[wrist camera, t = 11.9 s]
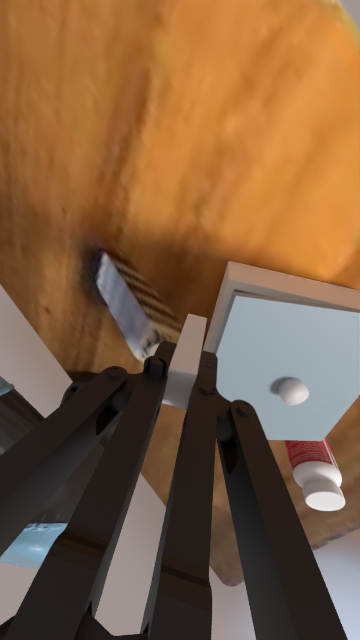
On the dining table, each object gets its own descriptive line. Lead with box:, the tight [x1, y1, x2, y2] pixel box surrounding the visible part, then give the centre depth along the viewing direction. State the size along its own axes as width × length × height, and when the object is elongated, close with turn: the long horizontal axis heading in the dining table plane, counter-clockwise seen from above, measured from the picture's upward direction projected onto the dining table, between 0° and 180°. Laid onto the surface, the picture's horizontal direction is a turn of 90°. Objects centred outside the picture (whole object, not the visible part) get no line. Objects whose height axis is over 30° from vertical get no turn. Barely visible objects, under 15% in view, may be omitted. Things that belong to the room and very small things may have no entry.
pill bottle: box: [285, 438, 345, 511], centre depth 34 cm, size 6×6×11 cm
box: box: [203, 260, 360, 353], centre depth 28 cm, size 16×16×8 cm
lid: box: [213, 291, 360, 441], centre depth 21 cm, size 16×17×2 cm
